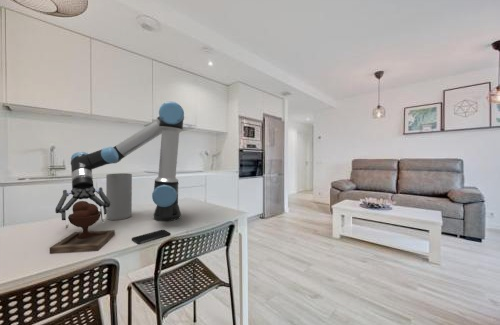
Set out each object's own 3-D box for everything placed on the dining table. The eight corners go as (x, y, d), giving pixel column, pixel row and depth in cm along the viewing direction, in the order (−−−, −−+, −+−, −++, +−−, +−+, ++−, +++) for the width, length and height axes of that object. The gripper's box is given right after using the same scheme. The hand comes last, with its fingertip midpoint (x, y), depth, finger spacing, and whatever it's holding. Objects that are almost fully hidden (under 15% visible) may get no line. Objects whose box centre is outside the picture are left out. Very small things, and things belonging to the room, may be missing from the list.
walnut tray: (114, 234, 98) (114, 230, 98) (97, 250, 83) (97, 245, 83) (75, 236, 95) (75, 231, 95) (49, 253, 79) (49, 247, 79)
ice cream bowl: (80, 243, 82) (80, 205, 81) (62, 238, 86) (61, 201, 85) (107, 234, 92) (107, 199, 91) (89, 230, 96) (89, 197, 95)
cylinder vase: (120, 213, 132) (120, 172, 130) (136, 215, 128) (136, 174, 127) (100, 219, 120) (100, 174, 118) (118, 221, 116) (118, 176, 115)
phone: (171, 233, 100) (138, 243, 89) (171, 235, 100) (138, 245, 89) (163, 229, 105) (130, 237, 94) (163, 231, 105) (130, 240, 94)
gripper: (111, 184, 107) (118, 222, 96) (47, 188, 91) (46, 234, 81) (113, 174, 103) (120, 213, 92) (46, 177, 87) (45, 224, 76)
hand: (86, 223), depth 86 cm, fingers closed on ice cream bowl, 11 cm apart
